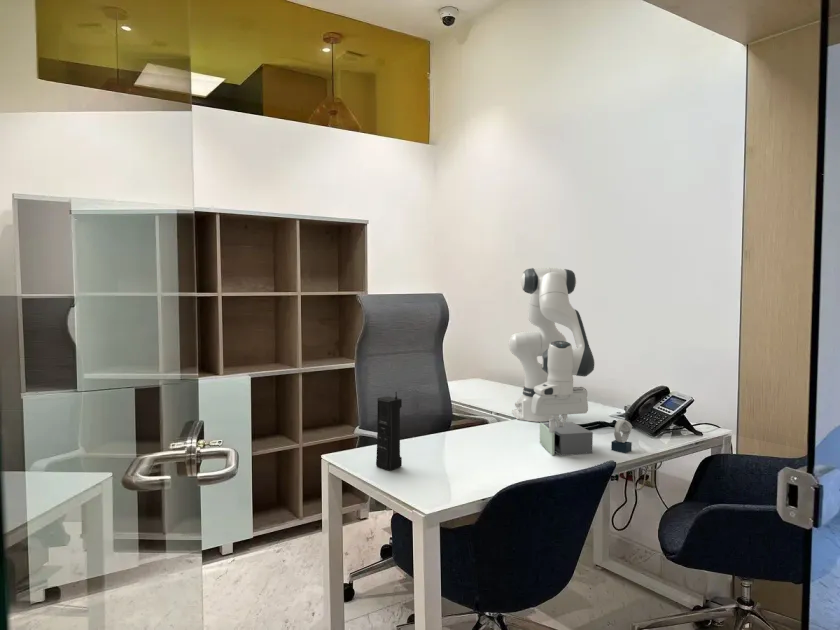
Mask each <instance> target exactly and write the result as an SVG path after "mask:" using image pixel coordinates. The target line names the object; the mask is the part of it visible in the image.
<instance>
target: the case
mask: <svg viewBox="0 0 840 630" xmlns="http://www.w3.org/2000/svg"><path fill="white" fill-rule="evenodd" d="M543 424H544V425H546V426H547V427H548V428H549V422H547V423H543ZM555 424H556V422H555ZM593 434H594V433H593V431H591V430H589V429H588V428H587V429H586V428H585V427H583V426H581V425H579V424H577V423H575V422H573V421H569V422H568V421H567V422H566V421H565V422H564V427H556V425H555V437H554V453H557V455H559V456H572V455H586V454H587V455H589V454H593V443H594V441H593V440H594V439H593Z"/></svg>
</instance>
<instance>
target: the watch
mask: <svg viewBox="0 0 840 630" xmlns="http://www.w3.org/2000/svg"><path fill="white" fill-rule="evenodd" d="M632 429H633V426H632V424H631V422H630V421H628V420H626V419H618V420H617V421H616V422H615V425H614V429H613V430H614V432H613V435H614V440H613V441H611V445H610V446H611V449H610V451H614V452H617V453H623V454H628V453H630V452H632V449H633V448H632V447H633V446H632V443H633V442H632V441H628V440H629V437H630V434H631V432H632Z"/></svg>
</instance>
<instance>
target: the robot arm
mask: <svg viewBox="0 0 840 630" xmlns="http://www.w3.org/2000/svg"><path fill="white" fill-rule="evenodd" d="M520 285H521V288H522V291H524V293H526V294H530V295H529V302H528V310H527V320H529V323H531V324H532V325H533V326H535V327H538V328H539V329H538V330H537V331H521V332H516V333H513V334H511V336H510V337H509V340H508V348H509V351H510V352H511V353H512V354H513V355H514V356H515V357H516V358H517V359H518V360H519V361H520V363H521V365H522V368H523V374H524V375H523V376H524V386H523V388H522V395H521V396H520V397H519V398H518V399H517V401H516V402H515V403H514V407H515V409H512V410H511V414H512V415H513V416H514V417H515V418H516V420H519V421H520V420H521V421H528V422H537V423H538V422H539V423H546V422H549V419H555V423H556V424H555V425H556V427H564V423H566V420H567V419H568V415H581V414H582V415H583V414H587V412H589V402H588V390H587V388H585V387H584V386H574V377H573V376H577V377H587V376H589V375H590V374H591V373H592V372H593V371H594V370H595V365H596V364H595V359H594V355H593V353H592V352H593V351H592V349H591V347H590V345H589V341H588V336H587V333H586V330H585V327H584V324H583V320H582V317H581V314H580V312H579V311H578V310H577V309H575V308H574V307H573V306H572V304H571V303H570V298H569V295H571V294H572V293H573V292H574V291H575V288H576V286H577V278H576V274H575V272H574V271H573V270H570V269H566V268H563V269H562V268H557V267H556V268H555V267H554V268H553V267H548V268H547V267H546V268H545V267H543V268H542V267H541V268H533V267H531V268H527V269H525V270H524V271H523V272H522V276H521V277H520ZM555 323H556V324H558V325H561V326H564V327H565V328H568V329H569V330H570V331H571V332H572V336H573V339H574V343H575V345H576V347H575V348H573V347H572V343H570V342H568V341H567V338H566V336H565V335H564V334H563V333H562V332H560V331H559V329H558V328H557V326H556V324H555ZM538 357H541V358H542V359H541V360H542V363H541V362H539V361H538ZM559 417H561V419H560V420H559Z"/></svg>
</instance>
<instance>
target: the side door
mask: <svg viewBox="0 0 840 630" xmlns="http://www.w3.org/2000/svg"><path fill="white" fill-rule="evenodd" d="M548 423H549V428H548V427H547V426H546V425H544V424H545V423H544V422H539V444H540V445H541V446H542V447H543V448H544V449H545V450H546V451H547V452H548V453H549V454H550V455H552V456H555V451H554V437H555V423H556V422H555V419H549V421H548Z"/></svg>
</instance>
